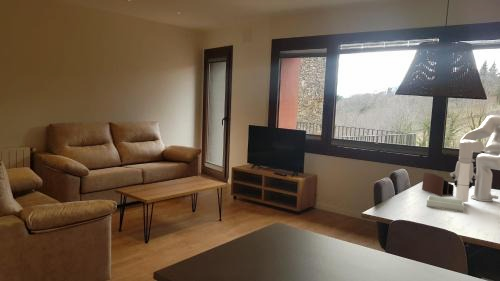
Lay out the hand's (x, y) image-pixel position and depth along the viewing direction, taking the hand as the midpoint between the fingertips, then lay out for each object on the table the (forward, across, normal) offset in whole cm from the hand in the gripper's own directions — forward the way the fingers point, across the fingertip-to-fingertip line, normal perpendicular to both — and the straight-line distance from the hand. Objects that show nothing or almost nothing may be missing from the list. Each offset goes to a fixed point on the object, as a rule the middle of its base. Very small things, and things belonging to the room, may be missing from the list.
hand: (462, 187), depth 244 cm
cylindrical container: (+9, 0, 0) cm, 9 cm away
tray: (+10, +10, +15) cm, 20 cm away
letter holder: (+12, +15, -23) cm, 30 cm away
